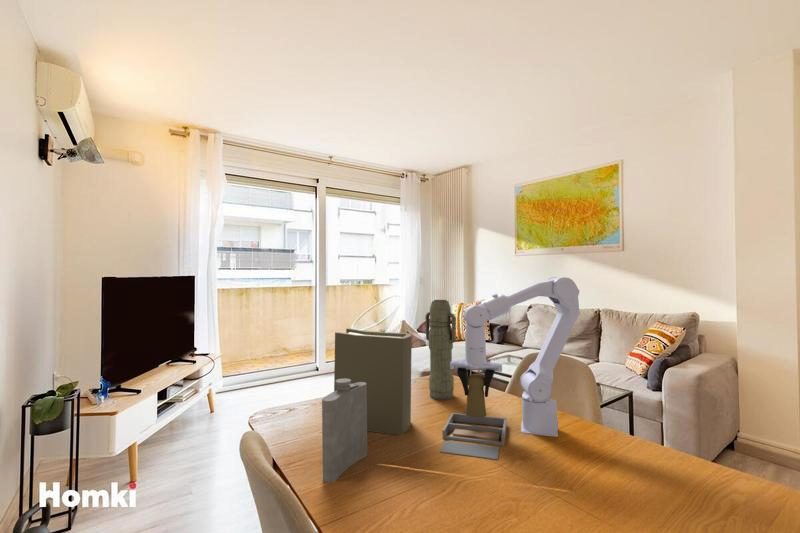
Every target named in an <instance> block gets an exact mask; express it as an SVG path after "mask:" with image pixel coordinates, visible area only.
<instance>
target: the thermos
mask: <svg viewBox="0 0 800 533" xmlns="http://www.w3.org/2000/svg"><path fill="white" fill-rule="evenodd" d="M451 311H452V307H451V305H450V302H449V300H447V299H434V300H431V303H430V306H429V312H426V314H425V338H426V341H428V349H429V359H430V360H429V362H430V363H429V367H430V368H429V369H430V374H429V378H428V387H429V388H428V389H429V398H430V399H433V400H437V401H438V400H439V401H445V400H451V399H453V398H454V390H455V383H454V382H455V381H454V380H455V379H454V376H453V369H450V362H451V361H453V357H452V356H453V355H452V354H453V352H452V351H453V349H454V342H456V340H457V335H456V334H457V316H456V315H455V313H452V312H451Z"/></svg>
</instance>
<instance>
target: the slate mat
mask: <svg viewBox="0 0 800 533" xmlns="http://www.w3.org/2000/svg"><path fill="white" fill-rule="evenodd" d="M439 453H441V454H449V455H456V456H462V457H463V456H464V457H472V458H478V459H480V458H481V459H485V460H486V459H488V460H494V461H498V460H499V453H500V446H494V445H493V446H491V445H486V444H485V445H483V444H478V443H477V444H476V443H467V442H461V441H460V442H459V441H452V440H444V441H443V444H442V445H441V448H440V450H439Z"/></svg>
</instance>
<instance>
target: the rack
mask: <svg viewBox="0 0 800 533" xmlns="http://www.w3.org/2000/svg"><path fill="white" fill-rule="evenodd" d="M507 421H508V420H507V417H497V416H489V415H486V416H485V417H480V418H478V417H471V416H468V415H466V414H465V413H458V412H457V413H456V412H451V413H450V415H449V417H448V419H447V421H446V423H445V425H444V427H443V428H442V430H441V432H442V440H443V439H445V440H450V441H452V440H453V441H460V442H461V441H462V442H470V443H475V444H476V443H477V444H485V445H493V446H505V441H506V435H507V434H506V433H507V427H508V424H507V423H508V422H507ZM454 422H459V423H454ZM460 422H461V423H463V424H461V423H460ZM464 423H467V424H464ZM469 423H470V424H469ZM471 424H478V425H471ZM479 424H480V425H488V426H480V425H479ZM490 426H498V427H499V428H498V427H490ZM500 427H502V428H500ZM455 428H457V429H466V430H475V431H484V432H493V433H499V435H500V438H501V441H499V442H498V441H489V440H481V439H472V438H464V437H455V436H450V435H448V433H449V432H450V433H451V432H452V433H453V432H454V430H455Z"/></svg>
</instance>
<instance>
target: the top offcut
mask: <svg viewBox="0 0 800 533" xmlns="http://www.w3.org/2000/svg"><path fill="white" fill-rule="evenodd" d="M452 433H453V436H455V437H464V438H472V439H481V440H489V441H498V442H500V438H501V437H500V435H499V433H493V432H484V431H475V430H466V429H457V428H455V430H454V432H452Z"/></svg>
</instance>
